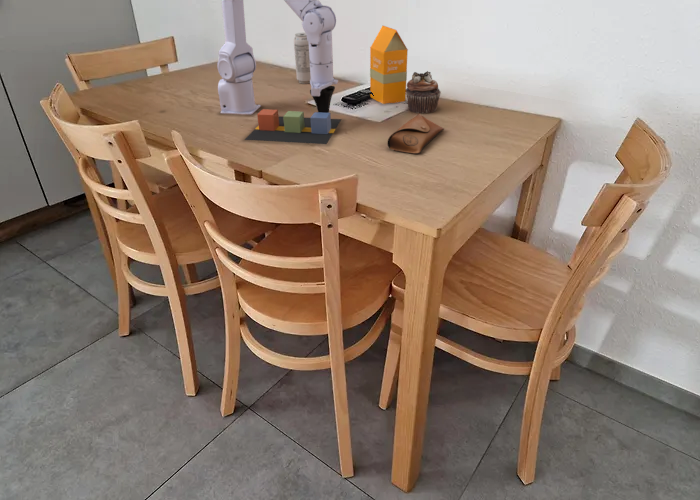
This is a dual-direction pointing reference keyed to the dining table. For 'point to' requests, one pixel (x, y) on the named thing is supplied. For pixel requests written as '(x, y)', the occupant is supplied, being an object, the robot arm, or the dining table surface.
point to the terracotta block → (268, 119)
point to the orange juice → (388, 67)
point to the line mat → (294, 134)
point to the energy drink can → (302, 58)
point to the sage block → (294, 121)
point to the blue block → (320, 123)
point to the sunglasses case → (414, 135)
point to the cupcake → (422, 93)
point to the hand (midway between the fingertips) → (323, 116)
